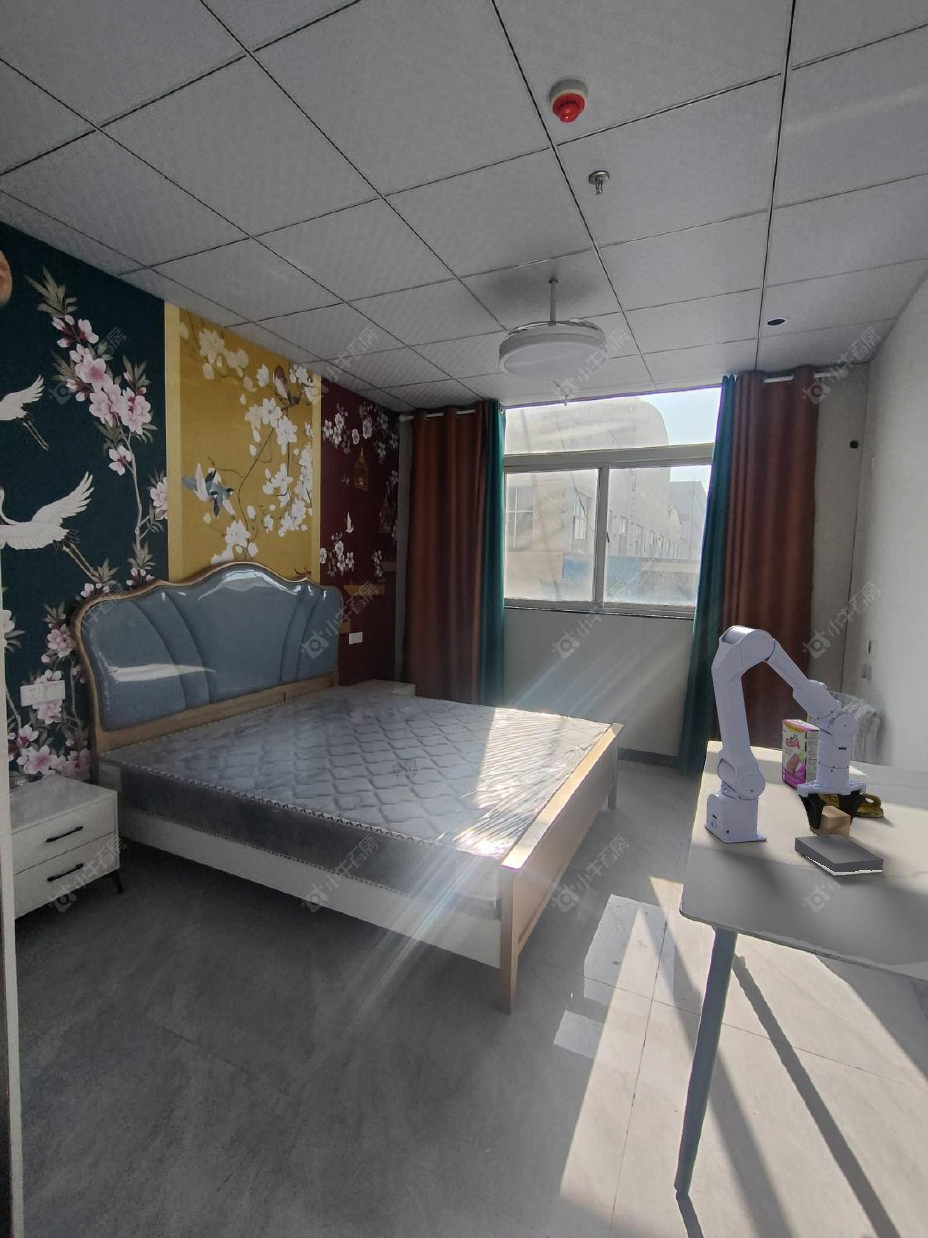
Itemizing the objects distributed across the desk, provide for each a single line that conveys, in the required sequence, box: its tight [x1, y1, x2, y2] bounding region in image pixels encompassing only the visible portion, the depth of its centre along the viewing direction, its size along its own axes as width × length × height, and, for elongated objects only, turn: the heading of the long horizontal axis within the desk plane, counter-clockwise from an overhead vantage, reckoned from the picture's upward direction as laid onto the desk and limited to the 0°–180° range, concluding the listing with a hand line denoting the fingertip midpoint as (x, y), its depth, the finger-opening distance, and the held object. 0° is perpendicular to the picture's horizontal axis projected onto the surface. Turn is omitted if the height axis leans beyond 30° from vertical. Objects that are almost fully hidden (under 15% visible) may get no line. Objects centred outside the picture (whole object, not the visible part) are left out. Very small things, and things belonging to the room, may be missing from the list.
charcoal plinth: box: [794, 834, 884, 872], centre depth 107 cm, size 10×10×2 cm
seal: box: [819, 792, 885, 818], centre depth 131 cm, size 9×5×15 cm
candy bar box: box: [781, 719, 820, 790], centre depth 142 cm, size 11×5×16 cm, turn 178°
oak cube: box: [809, 806, 851, 839], centre depth 118 cm, size 5×5×5 cm
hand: (829, 826), depth 118 cm, fingers open, 7 cm apart
